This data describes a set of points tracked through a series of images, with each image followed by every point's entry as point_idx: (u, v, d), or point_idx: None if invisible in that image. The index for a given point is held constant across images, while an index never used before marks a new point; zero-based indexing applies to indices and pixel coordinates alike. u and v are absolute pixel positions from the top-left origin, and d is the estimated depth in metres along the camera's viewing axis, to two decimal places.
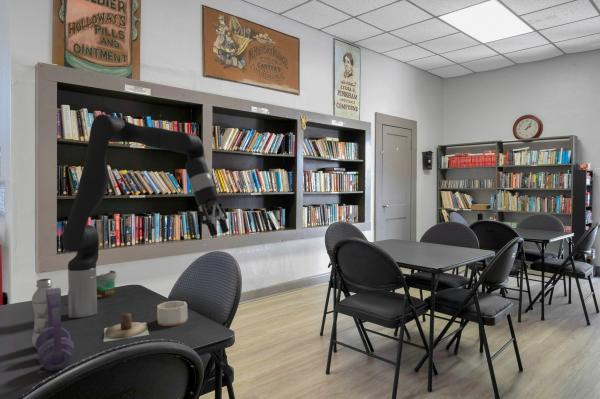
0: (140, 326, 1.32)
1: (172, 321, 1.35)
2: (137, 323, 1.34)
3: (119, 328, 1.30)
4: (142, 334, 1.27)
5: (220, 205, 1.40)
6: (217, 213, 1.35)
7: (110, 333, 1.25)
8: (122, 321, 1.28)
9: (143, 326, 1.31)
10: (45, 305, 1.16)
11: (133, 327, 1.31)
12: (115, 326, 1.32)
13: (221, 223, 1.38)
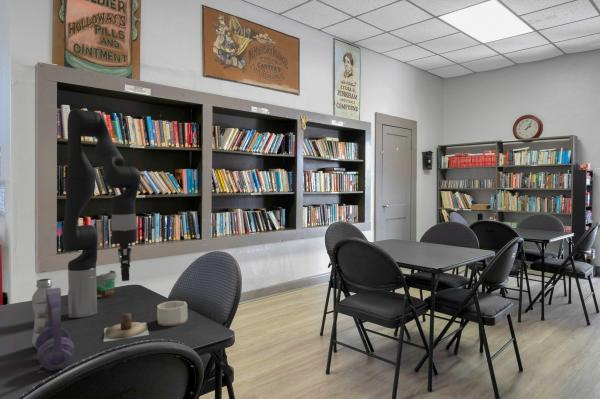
0: (140, 326, 1.32)
1: (172, 321, 1.35)
2: (137, 323, 1.34)
3: (119, 328, 1.30)
4: (142, 334, 1.27)
5: None
6: None
7: (110, 333, 1.25)
8: (122, 321, 1.28)
9: (143, 326, 1.31)
10: (45, 305, 1.16)
11: (133, 327, 1.31)
12: (115, 326, 1.32)
13: None
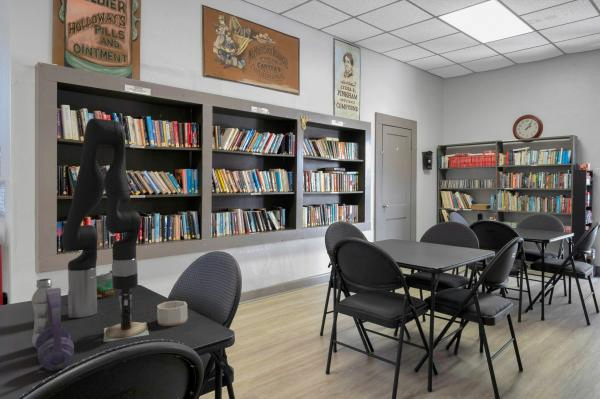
0: (140, 326, 1.32)
1: (172, 321, 1.35)
2: (137, 323, 1.35)
3: (119, 328, 1.30)
4: (142, 334, 1.27)
5: None
6: None
7: (110, 333, 1.25)
8: None
9: (143, 326, 1.31)
10: (45, 305, 1.16)
11: (133, 327, 1.31)
12: (115, 326, 1.32)
13: None
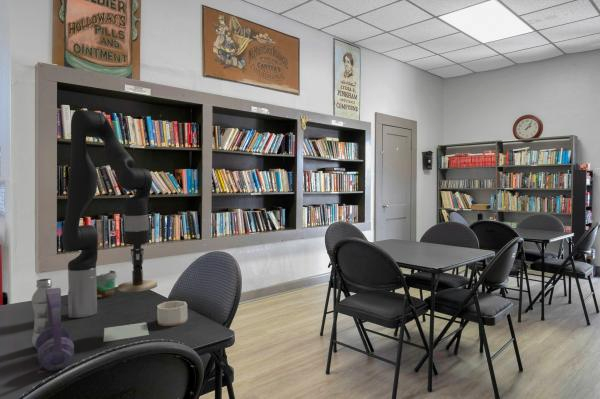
0: (151, 282, 1.33)
1: (172, 321, 1.35)
2: (148, 280, 1.36)
3: (131, 284, 1.32)
4: (142, 334, 1.27)
5: None
6: None
7: (122, 287, 1.27)
8: None
9: (154, 282, 1.33)
10: (45, 305, 1.16)
11: (145, 283, 1.32)
12: (127, 282, 1.34)
13: None
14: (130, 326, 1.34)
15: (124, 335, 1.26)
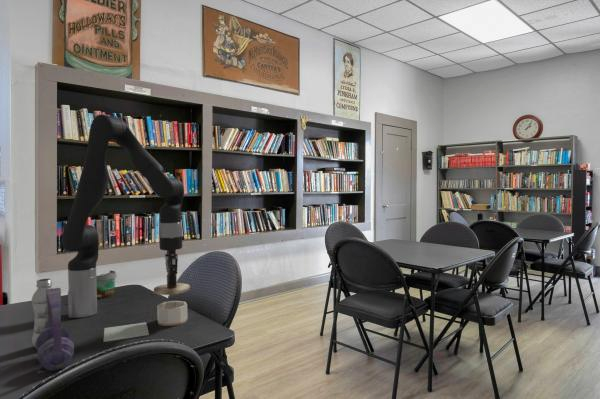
0: (184, 286, 1.41)
1: (172, 321, 1.35)
2: (181, 284, 1.44)
3: (165, 287, 1.39)
4: (142, 334, 1.27)
5: None
6: None
7: (158, 290, 1.35)
8: None
9: (187, 286, 1.41)
10: (45, 305, 1.16)
11: (178, 286, 1.40)
12: (161, 286, 1.41)
13: None
14: (130, 326, 1.34)
15: (124, 335, 1.26)
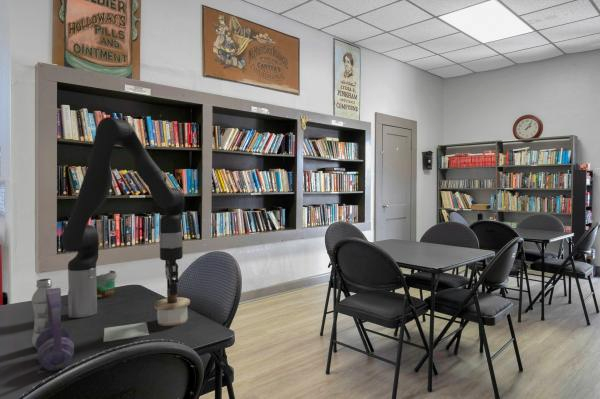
0: (184, 300, 1.41)
1: (172, 321, 1.35)
2: (181, 298, 1.44)
3: (165, 302, 1.40)
4: (142, 334, 1.27)
5: None
6: None
7: (159, 305, 1.35)
8: (169, 295, 1.38)
9: (187, 300, 1.41)
10: (45, 305, 1.16)
11: (178, 301, 1.40)
12: (161, 300, 1.42)
13: (169, 280, 1.43)
14: (130, 326, 1.34)
15: (124, 335, 1.26)
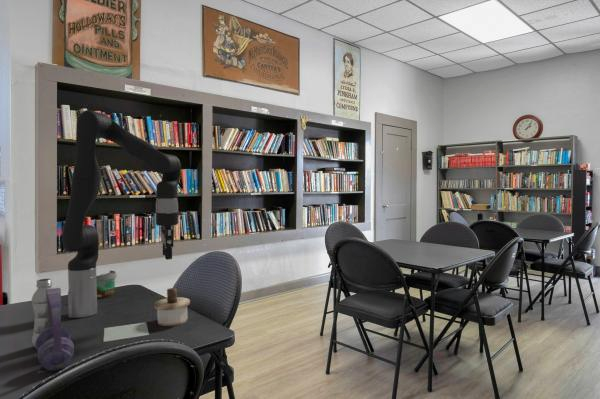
0: (184, 300, 1.41)
1: (172, 321, 1.35)
2: (181, 298, 1.44)
3: (165, 302, 1.40)
4: (142, 334, 1.27)
5: None
6: None
7: (159, 305, 1.35)
8: (169, 295, 1.38)
9: (187, 300, 1.41)
10: (45, 305, 1.16)
11: (178, 301, 1.40)
12: (161, 300, 1.42)
13: (165, 245, 1.44)
14: (130, 326, 1.34)
15: (124, 335, 1.26)
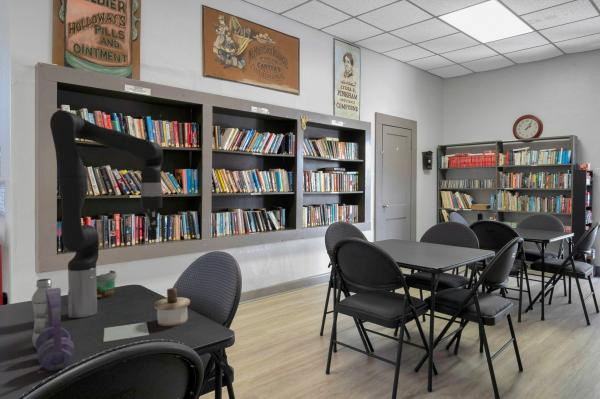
0: (184, 300, 1.41)
1: (172, 321, 1.35)
2: (181, 298, 1.44)
3: (165, 302, 1.40)
4: (142, 334, 1.27)
5: None
6: None
7: (159, 305, 1.35)
8: (169, 295, 1.38)
9: (187, 300, 1.41)
10: (45, 305, 1.16)
11: (178, 301, 1.40)
12: (161, 300, 1.42)
13: None
14: (130, 326, 1.34)
15: (124, 335, 1.26)
